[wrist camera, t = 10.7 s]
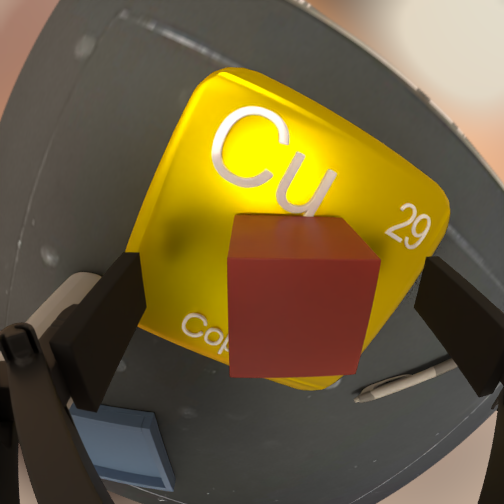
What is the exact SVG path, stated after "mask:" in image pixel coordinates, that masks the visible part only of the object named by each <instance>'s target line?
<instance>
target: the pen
mask: <svg viewBox="0 0 504 504" xmlns="http://www.w3.org/2000/svg"><path fill="white" fill-rule="evenodd" d="M456 367H458V366H457V365H456V363H455V362H454V360H453V359H452V358H451V359H449V360H446V361H444V362H442V363H439V364H437V365H435V366H432V367H430V368H428V369H426V370H424V371H421V372H419V373H416V374H414V375H409V374H407V375H401V376H397V377H393V378H389V379H386V380H383V381H380V382H378V383H375V384H372V385H370V386H368V387H366V388H365V389H363V390H362V392H361V394H360V395H358V397H357V398H355V399H354V402H360V403H363V402H368V401H371V400H374V399H377V398H380V397H383V396H386V395H389V394H392V393H394V392H397V391H400V390H402V389H405V388H408V387H410V386H413V385H415V384H418V383H420V382H423V381H425V380H428V379H430V378H433V377H436V376H438V375H440V374H443V373H445V372H447V371H449V370H452V369H454V368H456ZM401 377H403V378H401ZM397 378H400V379H398V380H395V381H392V382H389V383H387V384H384V385H381V386H379V385H380V384H383V383H385V382H387V381H390V380H393V379H397Z"/></svg>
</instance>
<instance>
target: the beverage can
mask: <svg viewBox="0 0 504 504" xmlns="http://www.w3.org/2000/svg"><path fill="white" fill-rule="evenodd" d="M100 278H101V276H99V275H97V274H93V273H88V272H79V273H75V274H73V275H72V276H70V277H69V278H68V279H67V280H66V281H65V282H64V283H63V284H62V285H61V286H60V287H59V288H58V289H57V290H56V291H55V292H54V293H53V294H52V295H51V296H50V297H49V298H48V299H47V300H46V301H45V302H44V303H43V304H42V305H41V306H40V307H39V308H38V310H37V311H36V312H35V313H34V314H33V315H32V316H31V317H30V318H29V319H28V320H27V321H26V322H25V323H28V324H31V325H32V326H33V327H34V329H35V332H36V335H37V337H38V339H39V338H40V337H41V336H42V335H43V333H44V332H45V331H46V330H47V328H48V327H49V326H51V324H52V322H53V321H54V320H56V318H57V316H58V315H59V314H60V313H61V312H62V311H63V310H64V309H66V308H67V307H69V306H70V305H72V304H79V303H80V302H81V301H82V299H83V298H84V297H85V296H86V295H87V293H88V292H89V291H90V290H91V289H92V288H93V286H94V285H95V284H96V283H97V282H98V281H99V279H100ZM0 361H5V360H4V357H3V355H2V353H1V351H0ZM72 403H73V400H72V398H71V397H70V399H69V401H68V403H67V407H68V409H70V407H71V405H72Z"/></svg>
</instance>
